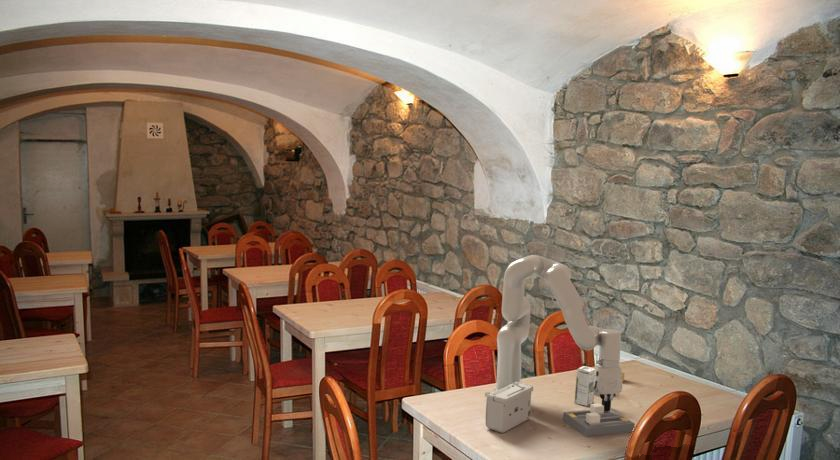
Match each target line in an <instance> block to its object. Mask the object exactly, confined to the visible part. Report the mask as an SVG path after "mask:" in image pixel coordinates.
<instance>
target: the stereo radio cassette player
mask: <svg viewBox="0 0 840 460" xmlns="http://www.w3.org/2000/svg"><path fill="white" fill-rule="evenodd" d="M505 380H507V379H506V378H505ZM507 381H509V380H507ZM509 382H511V381H509ZM511 383H513V382H511ZM533 391H534V385H530V384H528V383H523V382H521V381H520V382H515V383H513V384H511V385H508V386H506V387H504V388H502V389H500V390H497V391H495V392H493V393H490V394H488V395H487V397H486V401H485V402H486V404H485V426H486V428H488V429H489V430H492V431H495V432H499V433H501V434H504V433H506V432H507V431H509V430H511V429H512V428H514V427H516V426H519V425H521V424H522V423H524V422H525V421H527V420H530V416H531V402H532V392H533Z"/></svg>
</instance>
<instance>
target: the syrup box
mask: <svg viewBox="0 0 840 460" xmlns="http://www.w3.org/2000/svg"><path fill="white" fill-rule="evenodd" d="M595 372H596V368H593V367H590V366H586V365H583V366H580V367H579V368H577V369H576V379H575V391H574V403H575V404H578V405H581V406H585V407H588V406H590V404H594V400H595V399H594V398H595V395H594V392H595V390H594V377H595Z"/></svg>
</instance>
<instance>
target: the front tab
mask: <svg viewBox="0 0 840 460" xmlns="http://www.w3.org/2000/svg"><path fill="white" fill-rule="evenodd" d="M586 422H587V423H589V424H594V423H600V415H599V414H597V413H586Z"/></svg>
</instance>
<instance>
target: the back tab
mask: <svg viewBox="0 0 840 460" xmlns="http://www.w3.org/2000/svg"><path fill="white" fill-rule="evenodd" d="M589 410H590V412H591V413H597V414H600V413H604V406H603V405H602V403H601V402H599V403H592V404H590V405H589Z"/></svg>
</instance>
